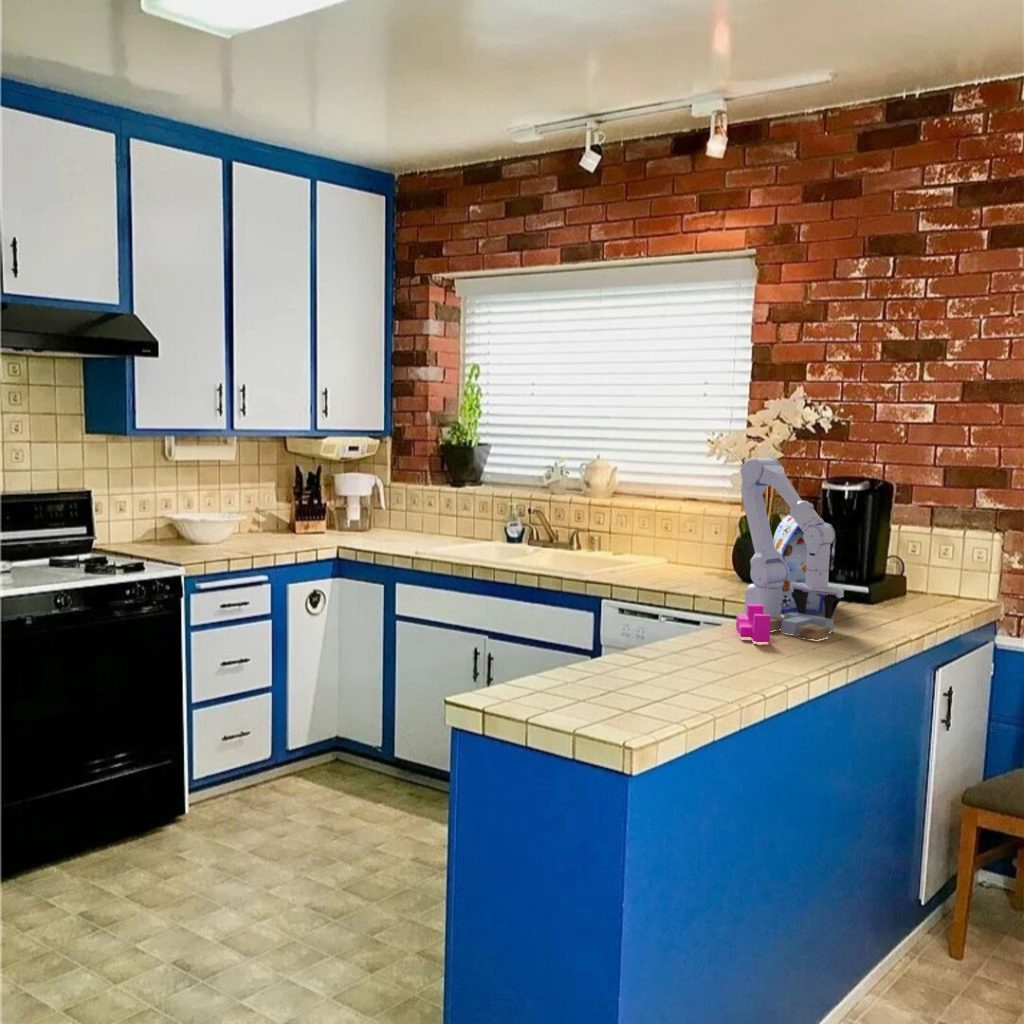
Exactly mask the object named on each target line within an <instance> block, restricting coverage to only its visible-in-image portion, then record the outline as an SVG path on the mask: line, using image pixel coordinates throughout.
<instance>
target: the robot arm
mask: <svg viewBox="0 0 1024 1024" xmlns="http://www.w3.org/2000/svg"><path fill="white" fill-rule="evenodd" d="M739 471H740V476H741V478H742V479H741V490H740V492H741V498H742V503H743V506H744V510H745V511H744V512H745V515H746V519H747V523H748V528H749V533H750V537H751V541H752V547H753V549H754V554H753V556H752V557H751V558H750V561H749V562H750V572H749V573H750V574H749V575H750V579H751V580H752V583H750V584H749V585H748V586H747V587H746V590H745V593H744V594H745V595H744V611H743V612H744V613H743V614H742V615H747V604H762V605H763V606H764V608H763V614H769V615H770V616H772V617H778V618H783V620H784V615H783V614H782V612H781V605H782V586H784V582H785V581H786V580H787V578H788V575H789V570H788V567H787V565H786V564H785V562H784V560H783V557H782V555H781V554H780V553H779V552H778V551H777V550H776V549H775V546H774V542H773V539H774V537H773V533H772V529H771V525H770V521H769V517H768V513H767V507H766V505H765V500H764V495H763V494H764V492H765V491H766V489H767V488H768V487H770V486H771V487H773V489H775V491H776V492H777V493H778V494H779V496H780V497H782V499H783V500H784V501H785V502H786V504H787V505H788V506H789V507H790V510H789V514H790V515H791V516H792V517H793V519H794V520H795V522H796V523H797V524H798V526H799V527H800V528H801V530H802V531H803V533H804V534H803V539H804V542H805V543H806V550H807V563H806V582H805V583H796V582H792V583H790V590H794V591H793V592H792V593H791V595H792V597H793V599H794V601H795V604H796V607H797V611H798V612H797V613H801V614H807V613H806V603H807V598H808V594H809V592H810V593H816V594H823V595H825V597H823V599H824V618H829V619H833V615H834V613H835V611H836V608H837V606H838V605H839V603H840V601H841V600H842V598H844V595H845V594H844V592H845V590H844V589H842V588H837V587H834V586H829V573H830V571H829V570H830V552H831V544H833V543H834V541H835V539H836V532H835V529H834V528H833V525H832V524H830V523H828V522H825V521H824V519H823V518H822V517H820V516H819V514H818V513H817V512H816V510H815V509H814V507H815V506H814V504H813V503H812V502H811V503H810V502H809V501H808V500H802V499H801V497H800V495H799V493H798V492H797V490H796V489H795V487H794V485H793V484H792V483H791V482H790V480H789V478H788V477H787V475H786V472H785V467H784V466H782V465H781V463H780V461H779V460H778V459H777V458H775V457H767V458H765V457H764V458H762V457H760V458H758V457H757V458H755V457H749V458H748V459H746V460H745V461H744V462H743V465H742V466H741V468H740V469H739ZM818 591H821V592H818Z"/></svg>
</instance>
